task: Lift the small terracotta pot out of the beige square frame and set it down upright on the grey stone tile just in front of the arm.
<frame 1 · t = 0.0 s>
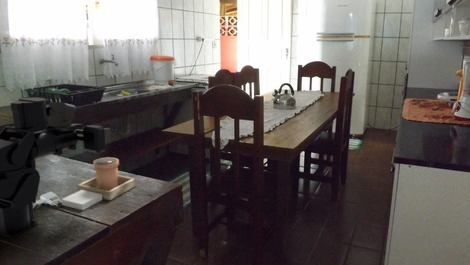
hand: (96, 128, 98), 16 cm above the counter, tool horizontal, fingers open, 9 cm apart
beige square frame: (107, 189, 100), on the counter
terracotta pot: (106, 175, 99), in the beige square frame
stone tile: (82, 202, 92), on the counter
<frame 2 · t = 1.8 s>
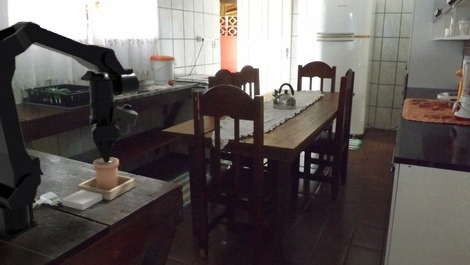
hand: (105, 156, 97), 9 cm above the counter, tool pointing down, fingers open, 9 cm apart
nothing on the counter moved.
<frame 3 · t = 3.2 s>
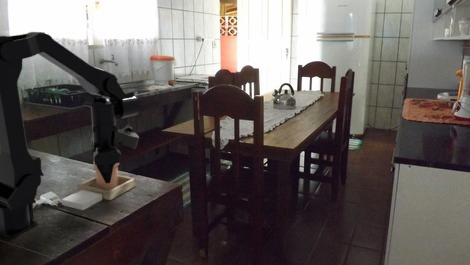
hand: (107, 178, 99), 3 cm above the counter, tool pointing down, fingers closed on terracotta pot, 6 cm apart
terracotta pot: (107, 175, 99), in the beige square frame, touching gripper
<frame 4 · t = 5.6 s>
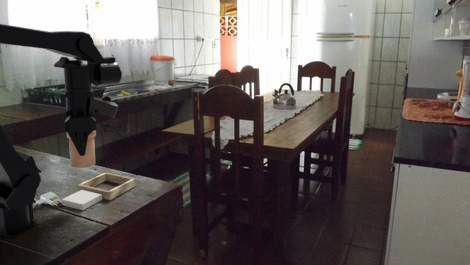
hand: (82, 151, 89), 13 cm above the counter, tool pointing down, fingers closed on terracotta pot, 6 cm apart
terracotta pot: (82, 147, 89), point 14 cm above the counter, touching gripper
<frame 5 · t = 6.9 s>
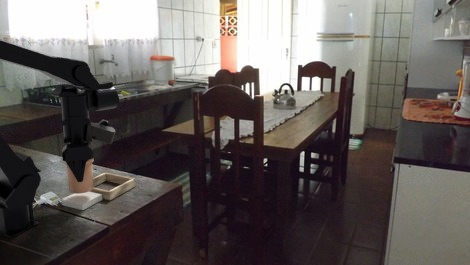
hand: (80, 177, 90), 7 cm above the counter, tool pointing down, fingers closed on terracotta pot, 6 cm apart
terracotta pot: (80, 173, 90), point 8 cm above the counter, touching gripper
when the fingers open (6 cm above the counter, at t = 7.9 s): terracotta pot drops 1 cm, resting on stone tile.
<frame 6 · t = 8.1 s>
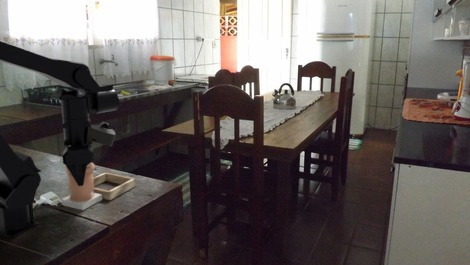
hand: (80, 179, 90), 6 cm above the counter, tool pointing down, fingers open, 8 cm apart
terracotta pot: (81, 181, 90), on the stone tile, point 6 cm above the counter
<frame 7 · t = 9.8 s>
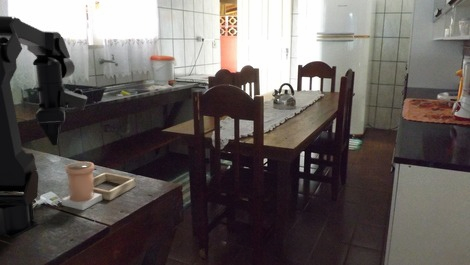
hand: (56, 140, 99), 12 cm above the counter, tool pointing down, fingers open, 9 cm apart
nothing on the counter moved.
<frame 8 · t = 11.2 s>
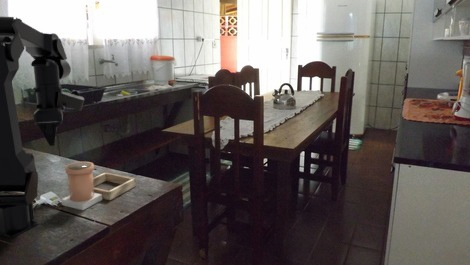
hand: (53, 141, 100), 12 cm above the counter, tool pointing down, fingers open, 9 cm apart
nothing on the counter moved.
at the end: terracotta pot 0.0 cm off-centre on the stone tile, point 5.5 cm above the stone tile's base; terracotta pot tilted 0°; the gripper is holding nothing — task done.
